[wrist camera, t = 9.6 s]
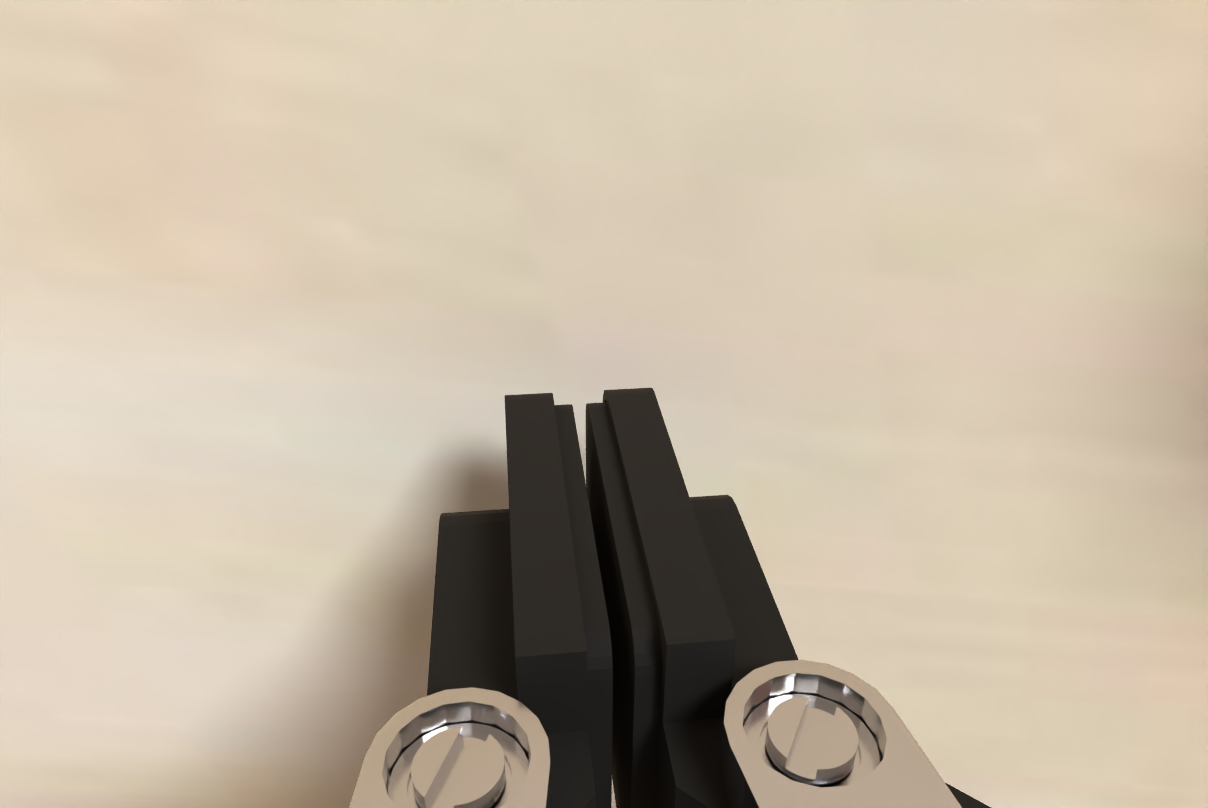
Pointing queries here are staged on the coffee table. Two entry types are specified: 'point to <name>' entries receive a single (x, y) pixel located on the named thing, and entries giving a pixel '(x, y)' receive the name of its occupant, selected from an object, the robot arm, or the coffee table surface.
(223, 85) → the coffee table surface
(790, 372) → the coffee table surface
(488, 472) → the coffee table surface
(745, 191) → the coffee table surface
